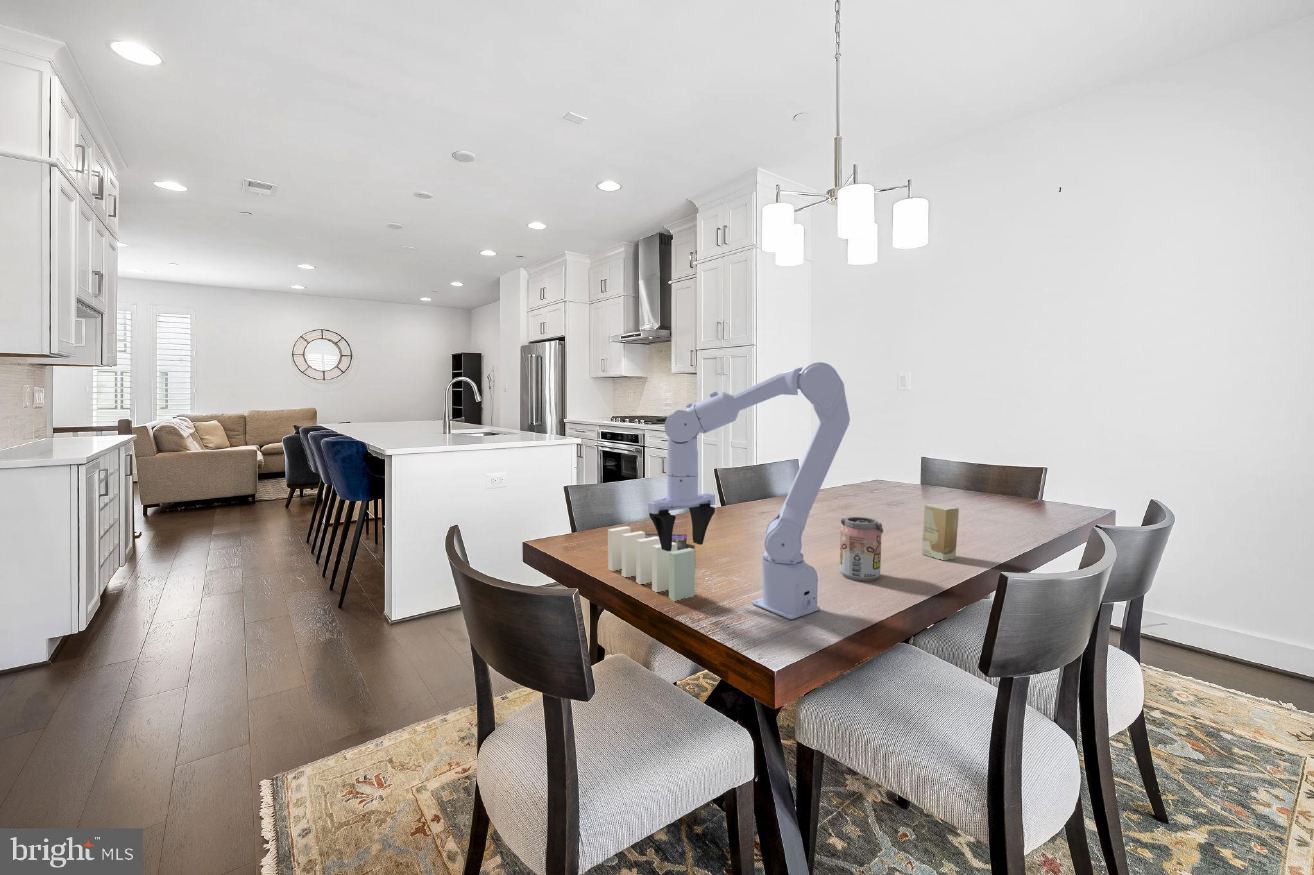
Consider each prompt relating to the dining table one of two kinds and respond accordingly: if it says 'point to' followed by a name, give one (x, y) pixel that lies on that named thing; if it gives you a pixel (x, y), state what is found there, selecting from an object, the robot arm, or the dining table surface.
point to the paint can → (860, 548)
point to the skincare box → (940, 531)
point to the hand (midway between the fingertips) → (682, 546)
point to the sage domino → (681, 574)
